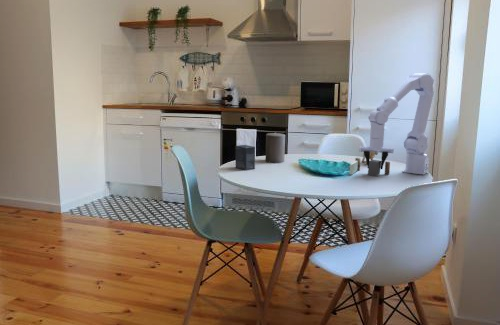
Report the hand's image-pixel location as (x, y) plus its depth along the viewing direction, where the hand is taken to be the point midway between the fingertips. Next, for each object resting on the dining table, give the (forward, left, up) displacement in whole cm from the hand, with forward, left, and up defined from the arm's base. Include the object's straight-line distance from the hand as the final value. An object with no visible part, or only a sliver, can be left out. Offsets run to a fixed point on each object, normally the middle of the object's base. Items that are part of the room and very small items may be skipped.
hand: (375, 168), depth 208 cm
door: (+9, +3, -3) cm, 10 cm away
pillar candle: (+52, +1, -3) cm, 52 cm away
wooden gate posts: (+3, -4, -3) cm, 6 cm away
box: (+53, +25, -3) cm, 59 cm away
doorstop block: (0, 0, -3) cm, 3 cm away
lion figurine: (+12, -24, -3) cm, 27 cm away
